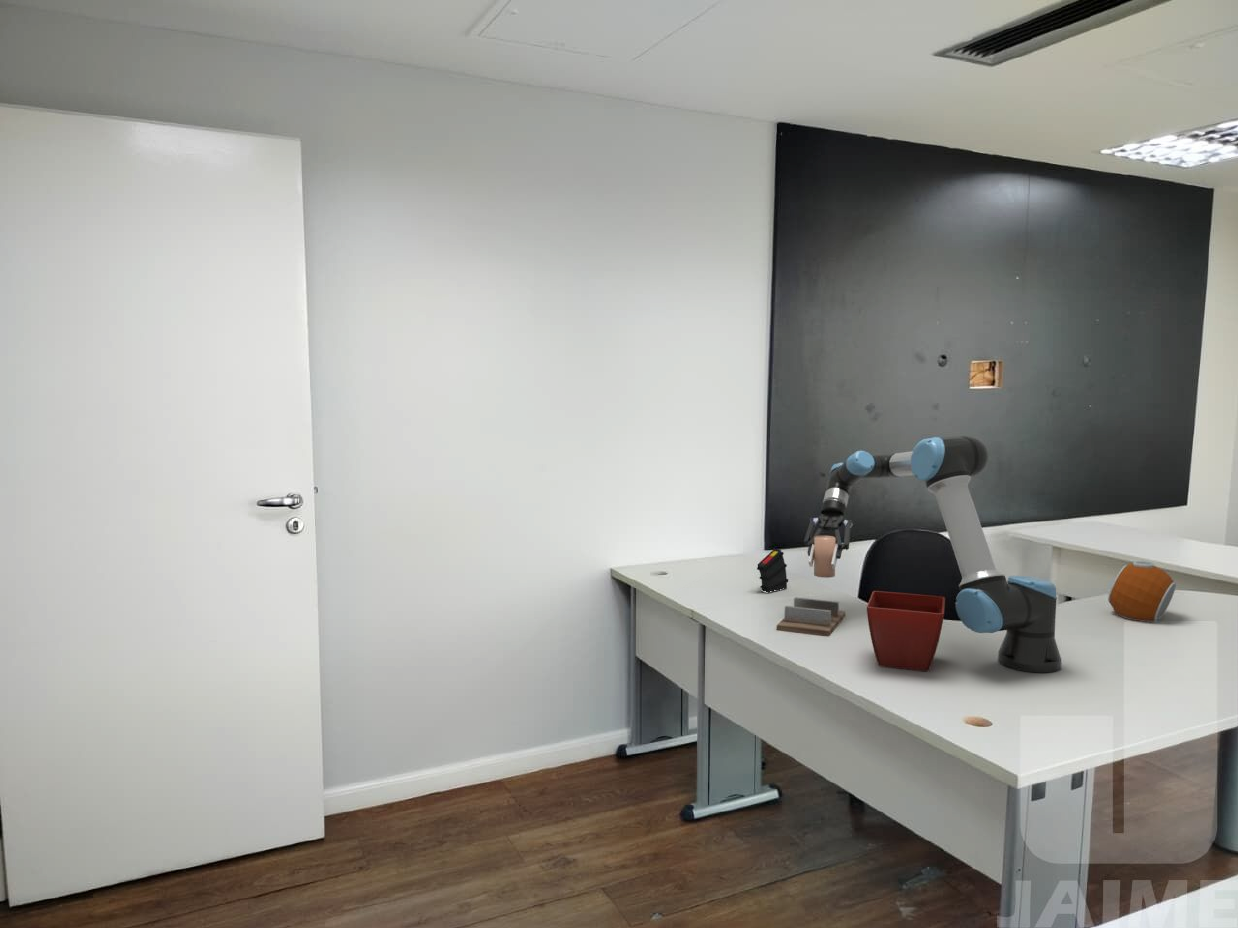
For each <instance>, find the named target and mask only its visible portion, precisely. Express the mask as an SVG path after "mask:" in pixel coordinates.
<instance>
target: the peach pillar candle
mask: <svg viewBox="0 0 1238 928" xmlns="http://www.w3.org/2000/svg"><path fill="white" fill-rule="evenodd" d="M836 542H837V540H836V536H833V535H822V536H815V537H814V561H813V575H814V577H817V578H825V579H827V578H834V577H835V576H836V568H835V569H833V568H832V565H831V562H832V558H833V553H834V548H835V546H836Z"/></svg>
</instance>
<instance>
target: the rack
mask: <svg viewBox="0 0 1238 928" xmlns="http://www.w3.org/2000/svg"><path fill="white" fill-rule="evenodd" d="M793 599H794V600H793V601H794V602H793V603H794V604H793V606H792V605H785V606H784V618H783V619H782V620H781V621H779V622H778V623H777V624H776V631H783V632H791V633H797V634H798V633H799V634H807V635H815V636H816V635H817V636H822V637H823V636H824V637H830V636H831V634H832V633H833V632H834V630H835V629H836V628H837V627H838V626H839V624H841V622H842V621H843V620H844V618H846V614H847V613H846V611H844V610H840V601H837V600H828V599H827V600H825V599H817V598H806V597H794V598H793Z"/></svg>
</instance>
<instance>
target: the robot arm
mask: <svg viewBox="0 0 1238 928" xmlns="http://www.w3.org/2000/svg"><path fill="white" fill-rule="evenodd" d="M989 459H990V454H989V449H988V448H987V446H986V444H984V442H983V441H981V440H980V439H978V438H976V437H973V436H966V435H964V436H947V437H946V436H945V437H943V436H942V437H939V436H934V437H931V438H929V437H928V438H924V439H922V440H920V441H919V442H918V443H917V444H915V446H914V448H913V450H912V451H904V452H895V453H887V454H875V455H874V454H872V455H871V453H869V452H867V451H865V450H857V451H855V452H854V453H853V454H851V455H850V456H848V458H847V459H845V461H844V462H838V463H834V464H833V465H832V466H831V468H830V471H829V474H828V479H827V484H826V489H825V493H824V498H823V501H822V506H821V509H820V514H819V516H818V517H812V516H811V517H809V524H808V527H807V530H806V534H805V537H804V540H803V542H804V545H805V547H808V549H807V556H808V565H809V568H810V567H811V568H813V567H814V537H815V536H824V534H825V533H826V531H827V532H828V531H831V532H834V534H835V538H836V544H837V546H836V545H835V548H834V553H833V558H832V562H831V565H832V568H833V569H835V570H836V566H837V560H838V559H841V557H842V552H843V550H844V551H848V550H849V549H850V542H851V541H850V539H851V530H852V529H853V527H854V525H853V520H852V519H848V520H847V519H846V518H845V516H846V513H847V506H848V503H849V497H850V493H851V489H852V487H853V486H854V485H856V484H857V483H858V482H859V481H861V480H868V479H869V480H870V479H872V480H873V479H883V478H884V479H885V478H900V477H906V476H907V477H909V476H914V478H916V479H917V480H919V481H921V482H925V485H926V488H927V491H928V492H929V493H932V494H934V495H935V497H936V501H937V503H938V507H939V510H940V513H941V515H942V518H943V523H944V525H945V529H946V531H947V534H948V538H949V541H950V544H951V547H952V550H953V552H954V556H955V559H956V561H957V562H956V563H957V566H958V568H959V571H960V574H961V582H960V583H959V584H958V588H959V591H960V592H958V594H957V596H956V598H955V600H956V602H955V603H954V604H955V610H956V611H955V612H956V614H957V616H958V619H960V621H961V623H962V624H963V626H965V627H967V629H970V631H972V632H973V633H977V634H994V633H998V632H1003V631H1006V632H1005V636H1004V638H1003V640H1002V643H1001V645H1000V647H999V651H998V663H1000V664H1001V665H1003V666H1004V667H1007V668H1011V669H1014V670H1016V671H1017V670H1019V671H1022V672H1027V673H1028V672H1029V673H1053V672H1057V671H1059V670H1061V668H1062V657H1061V653H1060V650H1059V646H1058V644H1057V641H1056V637H1055V635H1056V618H1057V617H1056V615H1057V600H1058V597H1057V587H1056V586H1055V584H1054V583H1053V582H1051V581H1048V580H1045V579H1042V578H1036V577H1030V576H1022V575H1010V576H1008V578H1007V579H1006V576H1005V574H1004V573H1002V572H1000V571H999V570H997V568H996V566H995V562H994V558H993V557H992V554H991V551H990V547H989V545H988V542H987V539H986V537H985V533H984V530H983V528H982V524H981V522H980V521H981V520H980V518H979V514H978V513H977V510H976V507H975V504H974V503H975V502H974V501H973V498H972V495H971V492H970V489H969V483H970V481H971V480H972V478H973V477H975V476H978V475H980V474H981V473H982V472H983V471H985V470H986V468H987V466H988V464H989V461H990V460H989ZM818 523H819V526H818V528H817V530H816V531H815V528H816V526H817V525H818ZM842 526H844V527H845V528H844V539H843V543H842V539H841V538H842V537H841V534H840V528H841V527H842ZM814 532H815V533H814Z"/></svg>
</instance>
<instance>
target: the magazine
mask: <svg viewBox="0 0 1238 928" xmlns="http://www.w3.org/2000/svg"><path fill="white" fill-rule="evenodd" d="M784 554H785V552H784V551H782V550H781V549H778V548H774V549H772V550H771V552H769V553H768V554H767V555H766V556H765V557H764V558H762V560H760V562H759V563H758V564H757V567H756V570H757V571H759V574H760V577H758V578H759V579H760V581H761V585H760V587H759V588H760V589H761V591H762V590H763V591H766V592H770V591H774V590H779V591H781V590H780V589H783V588H787V589H788V584H787V583H789V578H787V569H786V568H787V567H788V564H787V563H785V562H786V561H785V559H784ZM783 590H784V589H783Z"/></svg>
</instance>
